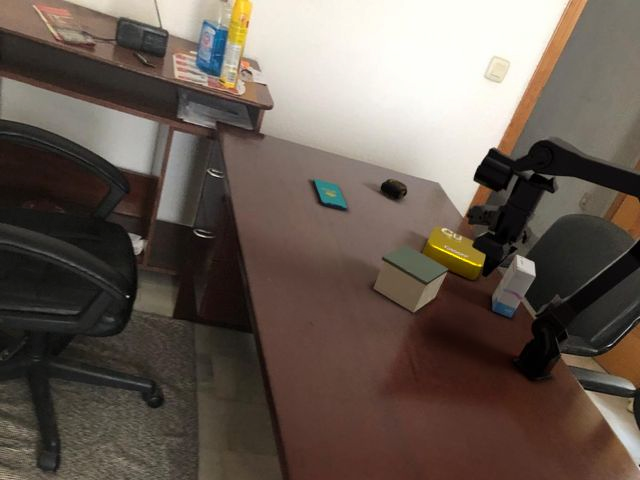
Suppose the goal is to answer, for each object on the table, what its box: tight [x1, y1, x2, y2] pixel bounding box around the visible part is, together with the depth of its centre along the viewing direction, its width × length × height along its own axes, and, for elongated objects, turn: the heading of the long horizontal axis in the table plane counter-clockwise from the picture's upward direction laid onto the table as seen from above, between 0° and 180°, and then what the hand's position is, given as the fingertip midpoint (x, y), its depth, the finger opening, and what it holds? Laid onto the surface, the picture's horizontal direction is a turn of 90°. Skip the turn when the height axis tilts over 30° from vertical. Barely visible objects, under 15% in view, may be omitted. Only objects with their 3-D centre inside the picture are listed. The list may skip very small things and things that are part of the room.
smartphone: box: [312, 178, 348, 211], centre depth 176 cm, size 7×1×15 cm
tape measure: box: [380, 178, 408, 201], centre depth 190 cm, size 7×7×4 cm
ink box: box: [491, 254, 537, 319], centre depth 154 cm, size 9×5×12 cm, turn 168°
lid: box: [381, 244, 449, 285], centre depth 143 cm, size 11×12×1 cm
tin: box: [373, 261, 448, 314], centre depth 145 cm, size 11×12×7 cm
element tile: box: [421, 225, 486, 281], centre depth 168 cm, size 15×15×5 cm
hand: (484, 275), depth 135 cm, fingers closed
